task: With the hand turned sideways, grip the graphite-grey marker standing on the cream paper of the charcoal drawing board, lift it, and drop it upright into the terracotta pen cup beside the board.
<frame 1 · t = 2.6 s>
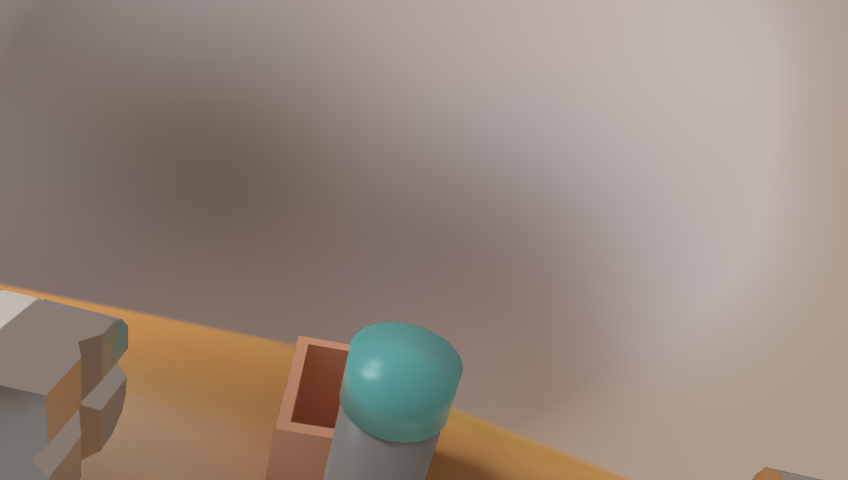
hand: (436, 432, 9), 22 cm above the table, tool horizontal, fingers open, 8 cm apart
pen cup: (339, 477, 37), on the table
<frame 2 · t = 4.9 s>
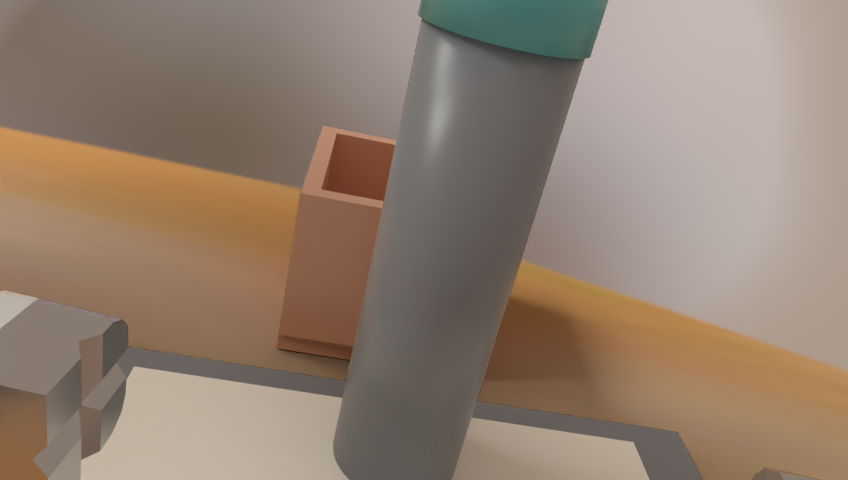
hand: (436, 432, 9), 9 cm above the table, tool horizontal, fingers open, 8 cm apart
marker: (394, 451, 20), point 1 cm above the table, touching drawing board
pen cup: (380, 310, 28), on the table
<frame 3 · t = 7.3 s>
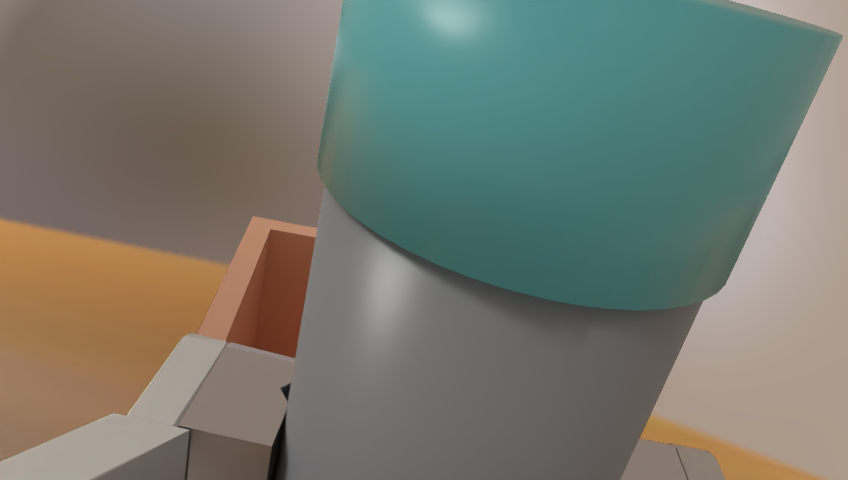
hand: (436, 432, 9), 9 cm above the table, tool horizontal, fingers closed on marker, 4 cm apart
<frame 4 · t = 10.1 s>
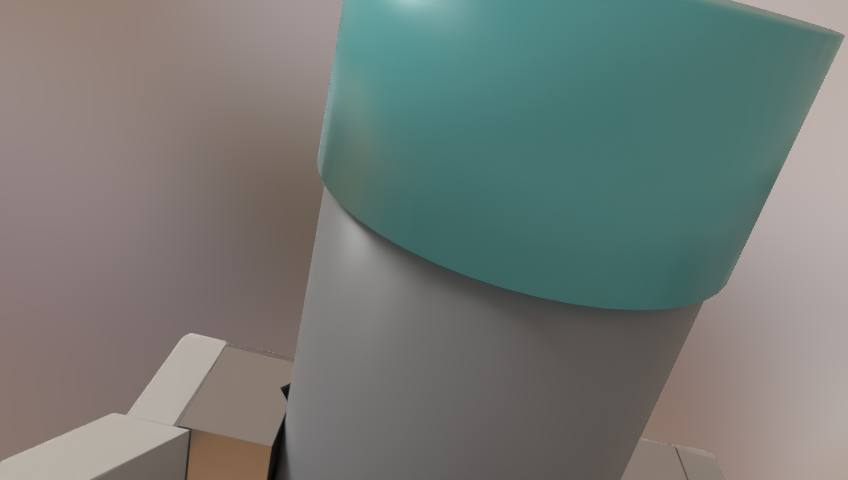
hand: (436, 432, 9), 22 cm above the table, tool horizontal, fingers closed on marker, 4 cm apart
when the fingers open (10 cm above the table, at t = 13.2 s): marker drops 1 cm, resting on pen cup.
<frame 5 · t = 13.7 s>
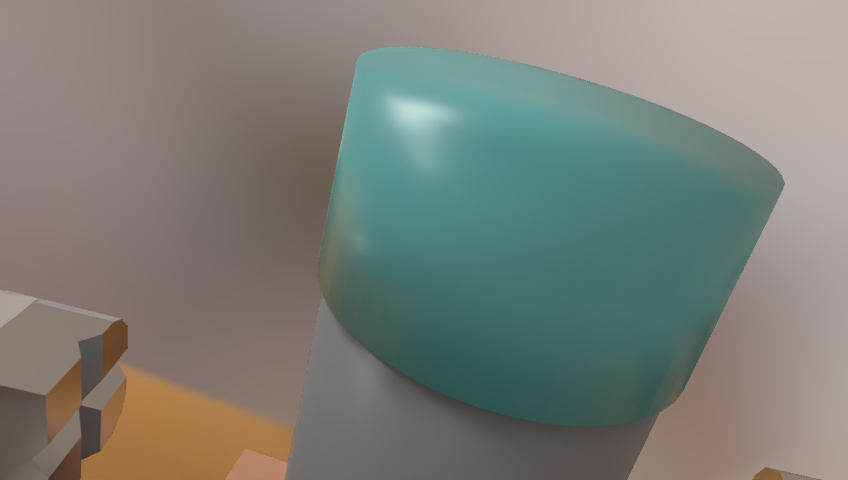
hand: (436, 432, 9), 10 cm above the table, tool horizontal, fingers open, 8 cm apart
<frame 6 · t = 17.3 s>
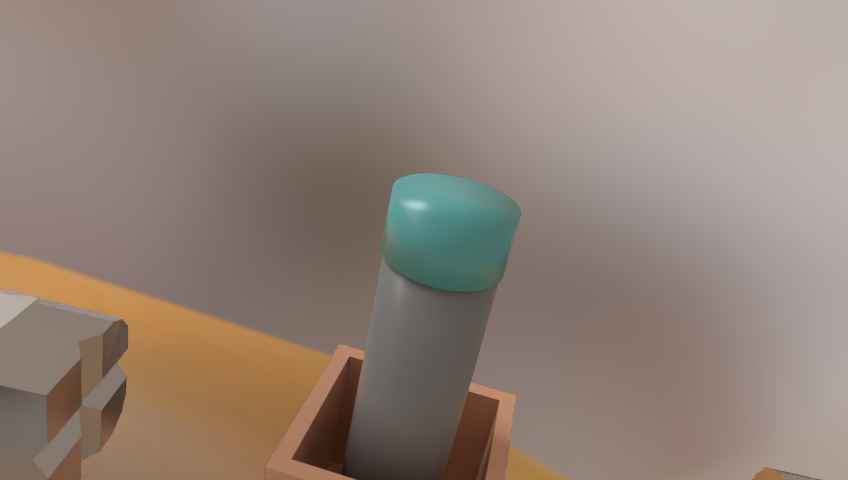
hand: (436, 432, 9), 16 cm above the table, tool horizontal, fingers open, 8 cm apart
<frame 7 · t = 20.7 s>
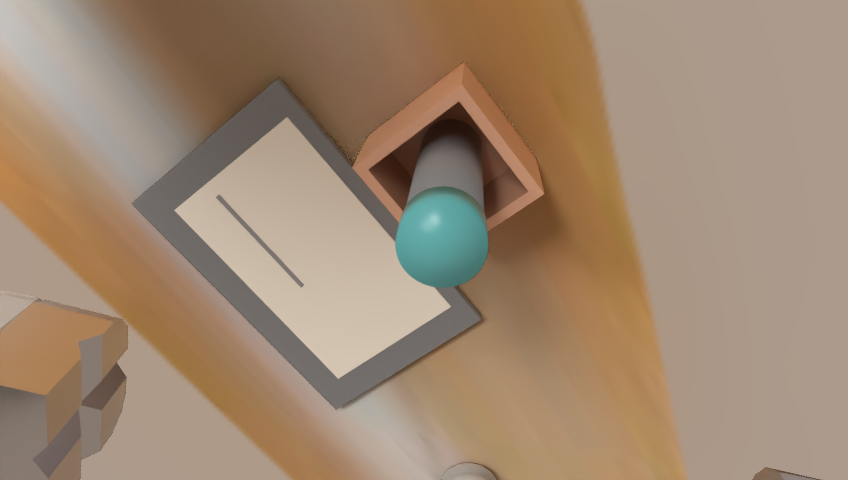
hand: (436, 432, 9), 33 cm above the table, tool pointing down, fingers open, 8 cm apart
rook chess piece: (469, 479, 53), on the table
marker: (451, 149, 41), point 1 cm above the table, touching pen cup
pen cup: (452, 146, 41), on the table
drawing board: (311, 258, 45), on the table
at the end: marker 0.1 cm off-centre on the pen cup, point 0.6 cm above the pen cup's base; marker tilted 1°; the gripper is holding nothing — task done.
